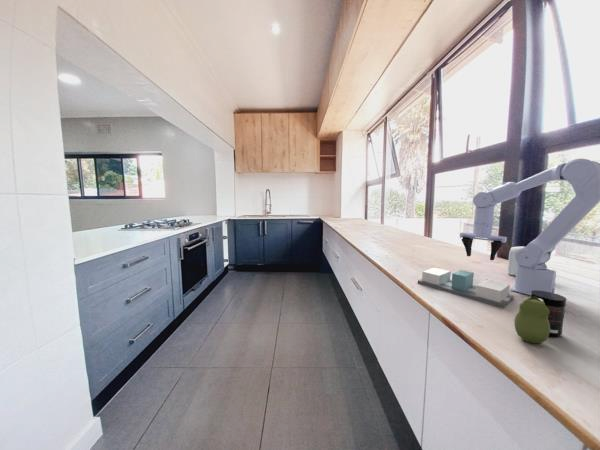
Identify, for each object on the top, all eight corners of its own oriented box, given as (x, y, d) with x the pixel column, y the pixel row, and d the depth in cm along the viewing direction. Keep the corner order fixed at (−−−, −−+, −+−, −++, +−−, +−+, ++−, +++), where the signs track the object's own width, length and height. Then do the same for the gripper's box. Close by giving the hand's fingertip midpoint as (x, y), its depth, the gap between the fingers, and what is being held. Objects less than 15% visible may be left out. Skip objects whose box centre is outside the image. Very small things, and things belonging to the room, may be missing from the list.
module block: (472, 286, 82) (473, 272, 82) (464, 291, 78) (465, 276, 78) (459, 283, 86) (460, 269, 85) (451, 287, 81) (452, 273, 81)
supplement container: (548, 326, 59) (552, 291, 58) (569, 339, 53) (574, 301, 52) (520, 323, 60) (524, 289, 59) (538, 336, 54) (543, 299, 53)
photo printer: (506, 274, 99) (509, 245, 97) (508, 272, 101) (511, 244, 100) (540, 281, 91) (544, 249, 89) (542, 278, 94) (545, 248, 92)
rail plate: (513, 298, 75) (514, 284, 74) (502, 307, 69) (504, 293, 68) (431, 277, 95) (432, 266, 95) (417, 282, 89) (418, 271, 88)
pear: (547, 340, 53) (552, 297, 52) (549, 352, 49) (555, 305, 48) (513, 331, 57) (517, 290, 55) (512, 340, 53) (517, 297, 52)
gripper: (457, 222, 95) (455, 255, 96) (504, 226, 83) (500, 263, 85) (464, 221, 99) (462, 253, 100) (509, 224, 87) (506, 260, 89)
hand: (480, 257), depth 93 cm, fingers open, 7 cm apart
